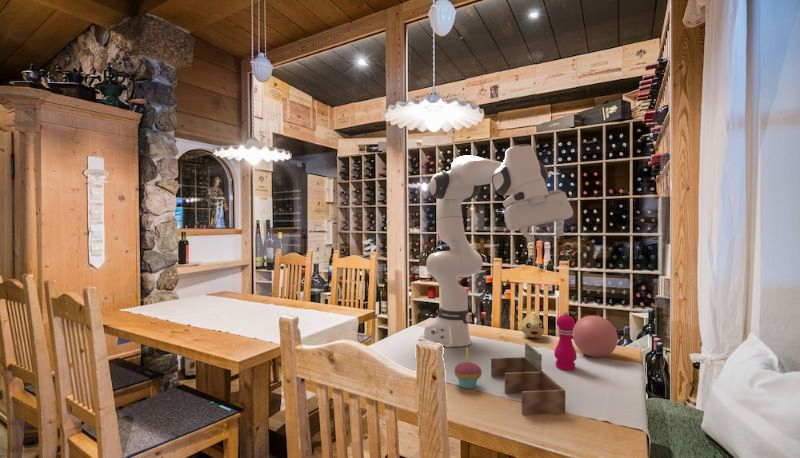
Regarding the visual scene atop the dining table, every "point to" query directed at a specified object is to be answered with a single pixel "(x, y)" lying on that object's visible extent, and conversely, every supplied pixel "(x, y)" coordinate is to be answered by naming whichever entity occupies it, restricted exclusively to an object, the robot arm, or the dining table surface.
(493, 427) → the dining table surface
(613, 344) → the balloon
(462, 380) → the cupcake
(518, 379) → the walnut rack
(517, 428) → the dining table surface
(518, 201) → the robot arm
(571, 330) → the pepper mill
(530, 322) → the beige toy head
